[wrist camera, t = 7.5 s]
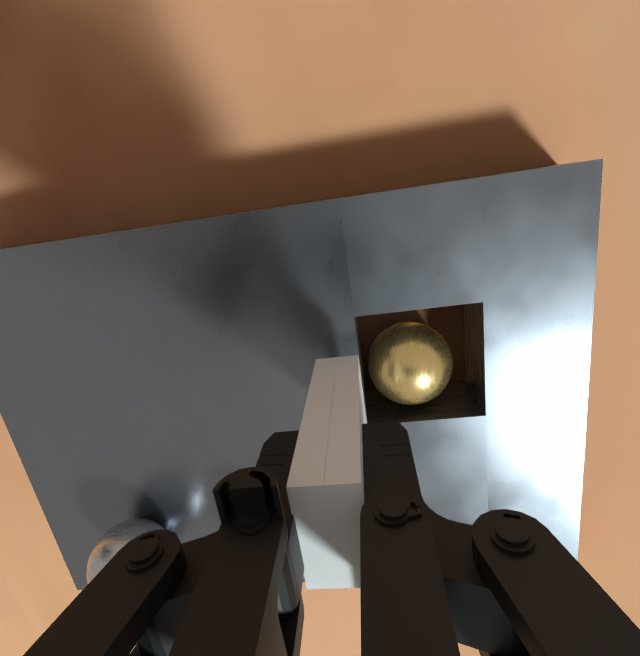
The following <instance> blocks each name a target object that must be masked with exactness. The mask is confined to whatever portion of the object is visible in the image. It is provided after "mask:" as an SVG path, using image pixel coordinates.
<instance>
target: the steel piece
mask: <svg viewBox="0 0 640 656" xmlns="http://www.w3.org/2000/svg"><path fill="white" fill-rule="evenodd" d="M162 529H164V528H163V527H162V526H161V525H159V524H158V523H156V522H154V521H152V520H148V519H142V518H137V519H130V520H126V521H123V522H121V523H119V524H117V525H115V526H113V527H112V528H110V529H109V530H108V531H107V532H106V533H105V534H103V536H102V537H101V538H100V539H99V540H98V541H97V543H96V545H95V546H94V548H93V550H92V552H91V554H90V557H89V560H88V564H87V583H88V584H89V583H90V582H91V581H92V579H93V578H94V577H95V576H96V575H97V574H98V573H99V572H100V571H101V570H102V568H103V567H104V566H105V565H106V564H107V563H108V562H109V561H110V560H111V559H112V557H113V556H114V555H115V554H116V553H117V552H118V551H119V550H120V549H121V548H122V547H123V546H125V545H126V544H127V543H128V542H129V541H131V540H132V539H134V538H136V537H138V536H139V535H141V534H143V533H146V532H150V531H153V530H162Z"/></svg>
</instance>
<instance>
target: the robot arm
mask: <svg viewBox="0 0 640 656" xmlns="http://www.w3.org/2000/svg"><path fill="white" fill-rule="evenodd" d="M212 491H213V495H214V498H215V502H216V506H217V509H218V513H219V517H220V520H221V525H220V528H219V530H218V531H216V532H214V533H212V534H210V535H207V536H204V537H201V538H198V539H195V540H192V541H189V542H185V543H182V544H181V542H180V539H179V538H178V536H177V534H176V533H174V532H172V531H170V530H167V529H162V530H153V531H150V532H146V533H143V534H141V535H139V536H138V537H136V538H134V539H132V540H131V541H129V542H128V543H127V544H126V545H125V546H123V547H122V548H121V549H120V550H119V551H118V552H117V553H116V554H115V555H114V556H113V557H112V559H111V560H110V561H109V562H108V563H107V564H106V565H105V566H104V567H103V568H102V570H101V571H100V572H99V573H98V574H97V575H96V576H95V577H94V578H93V579H92V581H91V582H90V583H89V584H88V585H87V586H86V587H85V588H84V589H83V590H82V591H81V593H80V594H79V595H78V596H77V597H76V598H75V599H74V600H73V601H72V602H71V604H70V605H69V606H68V607H67V608H66V609H65V610H64V611H63V612H62V613H61V614H60V616H59V617H58V618H57V619H56V620H55V621H54V622H53V623H52V624H51V625H50V627H49V628H48V629H47V630H46V631H45V632H44V633H43V634H42V635H41V636H40V637H39V639H38V640H37V641H36V642H35V643H34V644H33V645H32V646H31V647H30V648H29V650H28V651H27V652H26V653H25V654H24V655H23V656H299V655H300V647H301V638H302V629H303V621H304V606H303V600H302V595H301V589H302V581H303V574H304V578H305V582H306V587H307V589H334V588H361V656H460V652H459V648H458V643H460V644H463V645H466V646H470V647H473V648H476V649H479V652H480V655H481V656H640V629H639V628H638V627H637V626H636V625H635V624H634V623H633V622H632V621H631V620H630V618H629V617H628V616H627V615H626V614H625V613H624V612H623V611H622V610H621V609H620V607H619V606H618V605H617V604H616V603H615V602H614V601H613V600H612V599H611V598H610V596H609V595H608V594H607V593H606V592H605V591H604V590H603V589H602V588H601V587H600V585H599V584H598V583H597V582H596V581H595V580H594V579H593V578H592V577H591V576H590V574H589V573H588V572H587V571H586V570H585V569H584V568H583V567H582V566H581V565H580V563H579V562H578V561H577V560H576V559H575V558H574V557H573V556H572V555H571V554H570V552H569V551H568V550H567V549H566V548H565V547H564V546H563V545H562V544H561V543H560V541H559V540H558V539H557V538H556V537H555V536H554V535H553V534H552V533H551V532H550V530H549V529H548V528H547V527H545V526H544V525H543V524H542V523H540V522H539V521H538V520H537V519H536V518H533V517H531V516H529V515H527V514H525V513H522V512H519V511H514V510H508V509H499V510H490V511H488V512H486V513H484V514H481V515H480V516H479V517H478V518H477V519H476V521H475V522H474V523H473V525H470V524H466V523H461V522H456V521H453V520H449V519H446V518H444V517H442V516H440V515H438V514H436V513H435V512H434V511H433V510H431V509H430V508H429V507H428V506H427V504H426V503H425V502H424V500H423V497H422V495H421V490H420V486H419V481H418V477H417V472H416V467H415V463H414V458H413V454H412V449H411V445H410V440H409V435H408V431H407V430H406V429H405V428H404V427H403V426H402V425H401V424H400V423H399V422H398V421H391V422H379V423H367V420H366V412H365V404H364V396H363V388H362V380H361V372H360V364H359V356H358V355H352V356H343V357H333V358H323V359H316V361H315V365H314V369H313V374H312V378H311V382H310V387H309V391H308V395H307V400H306V404H305V408H304V412H303V417H302V421H301V425H300V430H297V431H284V432H274V433H273V434H272V435H271V436H270V437H269V438H268V439H267V440H266V442H265V443H264V444H263V447H262V449H261V452H260V455H259V458H258V460H257V463H256V467H248V468H243V469H239V470H237V471H235V472H232V473H230V474H228V475H227V476H225V477H224V478H223V479H221V480H220V481H219V482H218V483H217V484H216V486H215V487H214V489H213V490H212ZM135 645H136V646H135ZM134 646H135V648H134ZM133 648H134V649H133ZM132 649H133V651H132V652H131V650H132ZM130 652H131V653H130ZM129 653H130V654H129Z"/></svg>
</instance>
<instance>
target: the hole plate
mask: <svg viewBox="0 0 640 656" xmlns="http://www.w3.org/2000/svg"><path fill="white" fill-rule="evenodd" d="M602 167H603V159H599V160H591V161H583V162H575V163H567V164H559V165H552V166H545V167H539V168H532V169H525V170H519V171H512V172H505V173H499V174H492V175H486V176H479V177H472V178H466V179H459V180H452V181H446V182H439V183H432V184H426V185H419V186H413V187H406V188H399V189H393V190H386V191H379V192H373V193H366V194H359V195H353V196H346V197H340V198H333V199H326V200H320V201H313V202H306V203H300V204H293V205H287V206H280V207H273V208H267V209H260V210H253V211H247V212H240V213H233V214H227V215H220V216H214V217H207V218H200V219H194V220H187V221H180V222H174V223H167V224H160V225H154V226H147V227H141V228H134V229H127V230H121V231H114V232H107V233H101V234H94V235H88V236H81V237H74V238H68V239H61V240H54V241H48V242H41V243H34V244H28V245H21V246H15V247H8V248H1V249H0V413H1V415H2V418H3V420H4V422H5V424H6V427H7V429H8V431H9V434H10V436H11V438H12V441H13V443H14V445H15V447H16V450H17V452H18V454H19V457H20V459H21V461H22V464H23V466H24V468H25V470H26V473H27V475H28V477H29V480H30V482H31V484H32V487H33V489H34V491H35V493H36V496H37V498H38V500H39V503H40V505H41V507H42V510H43V512H44V514H45V516H46V519H47V521H48V523H49V526H50V528H51V530H52V533H53V535H54V537H55V539H56V542H57V544H58V546H59V549H60V551H61V553H62V556H63V558H64V560H65V562H66V565H67V567H68V569H69V572H70V574H71V576H72V579H73V581H74V583H75V585H76V588H77V590H83V589H84V588H85V587H86V586H87V585H88V583H87V564H88V560H89V557H90V554H91V552H92V550H93V548H94V546H95V545H96V543H97V541H98V540H99V539H100V538H101V537H102V536H103V534H105V533H106V532H107V531H108V530H109V529H110V528H112V527H113V526H115V525H117V524H119V523H121V522H123V521H126V520H130V519H137V518H142V519H148V520H152V521H154V522H156V523H158V524H159V525H161V526H162V527H163V528H164V529H167V530H170V531H172V532H174V533H176V534H177V536H178V538H179V539H180V542H181V544H182V543H185V542H189V541H192V540H195V539H198V538H201V537H204V536H207V535H210V534H212V533H214V532H216V531H218V530H219V528H220V525H221V520H220V517H219V513H218V509H217V506H216V502H215V498H214V495H213V491H212V490H213V489H214V487H215V486H216V484H217V483H218V482H219V481H220V480H221V479H223V478H224V477H225V476H227V475H228V474H230V473H232V472H235V471H237V470H239V469H243V468H248V467H256V463H257V460H258V458H259V455H260V452H261V449H262V447H263V444H264V443H265V442H266V440H267V439H268V438H269V437H270V436H271V435H272V434H273V433H274V432H284V431H297V430H300V425H301V421H302V417H303V412H304V408H305V404H306V400H307V395H308V391H309V387H310V382H311V378H312V374H313V369H314V365H315V361H316V359H323V358H333V357H343V356H352V355H358V356H359V364H360V372H361V380H362V388H363V396H364V404H365V412H366V420H367V423H379V422H391V421H398V422H399V423H400V424H401V425H402V426H403V427H404V428H405V429H406V430H407V431H408V435H409V440H410V445H411V449H412V454H413V458H414V463H415V467H416V472H417V477H418V481H419V486H420V490H421V495H422V497H423V500H424V502H425V503H426V504H427V506H428V507H429V508H430V509H431V510H433V511H434V512H435V513H436V514H438V515H440V516H442V517H444V518H446V519H449V520H453V521H456V522H461V523H466V524H470V525H473V523H474V522H475V521H476V519H477V518H478V517H479V516H480V515H481V514H484V513H486V512H488V511H490V510H499V509H508V510H514V511H519V512H522V513H525V514H527V515H529V516H531V517H533V518H536V519H537V520H538V521H539V522H540V523H542V524H543V525H544V526H545V527H547V528H548V529H549V530H550V532H551V533H552V534H553V535H554V536H555V537H556V538H557V539H558V540H559V541H560V543H561V544H562V545H563V546H564V547H565V548H566V549H567V550H568V551H569V552H570V554H571V555H572V556H573V557H574V558H575V559H576V560H578V544H579V529H580V513H581V497H582V482H583V466H584V450H585V434H586V419H587V403H588V387H589V371H590V356H591V340H592V324H593V308H594V293H595V277H596V261H597V245H598V230H599V214H600V198H601V183H602ZM454 305H463V313H464V340H465V366H466V382H456V383H448V384H447V385H446V387H445V388H444V389H443V391H442V392H441V393H440V394H439V395H437V396H436V397H435V398H433V399H431V400H429V401H427V402H424V403H421V404H415V405H406V404H401V403H397V402H394V401H392V400H390V399H388V398H387V397H385V396H384V395H383V394H382V393H381V392H380V391H379V390H369V391H366V389H365V381H364V372H363V364H362V356H361V348H360V340H359V332H358V323H357V317H358V316H366V315H375V314H384V313H393V312H401V311H410V310H419V309H428V308H436V307H445V306H454ZM302 582H305V578H304V577H303V581H302Z"/></svg>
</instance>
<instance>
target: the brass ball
mask: <svg viewBox="0 0 640 656" xmlns="http://www.w3.org/2000/svg"><path fill="white" fill-rule="evenodd" d="M368 370H369V374H370V377H371V380H372V382H373V383H374V385H375V386H376V388H377V389H378V390H379V391H380V392H381V393H382V394H383V395H384V396H385V397H387V398H388V399H390V400H392V401H394V402H397V403H401V404H406V405H415V404H421V403H424V402H427V401H429V400H431V399H433V398H435V397H436V396H437V395H439V394H440V393H441V392H442V391H443V389H444V388H445V387H446V385H447V384H448V382H449V379H450V376H451V373H452V355H451V352H450V349H449V346H448V345H447V343H446V341H445V340H444V338H443V337H442V336H441V335H440V334H439V333H438V332H437V331H436V330H434V329H433V328H431V327H429V326H427V325H424V324H421V323H417V322H401V323H397V324H394V325H392V326H390V327H388V328H386V329H385V330H384V331H382V332H381V333H380V334H379V335H378V336H377V337H376V339H375V340H374V342H373V344H372V346H371V348H370V351H369V355H368Z"/></svg>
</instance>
